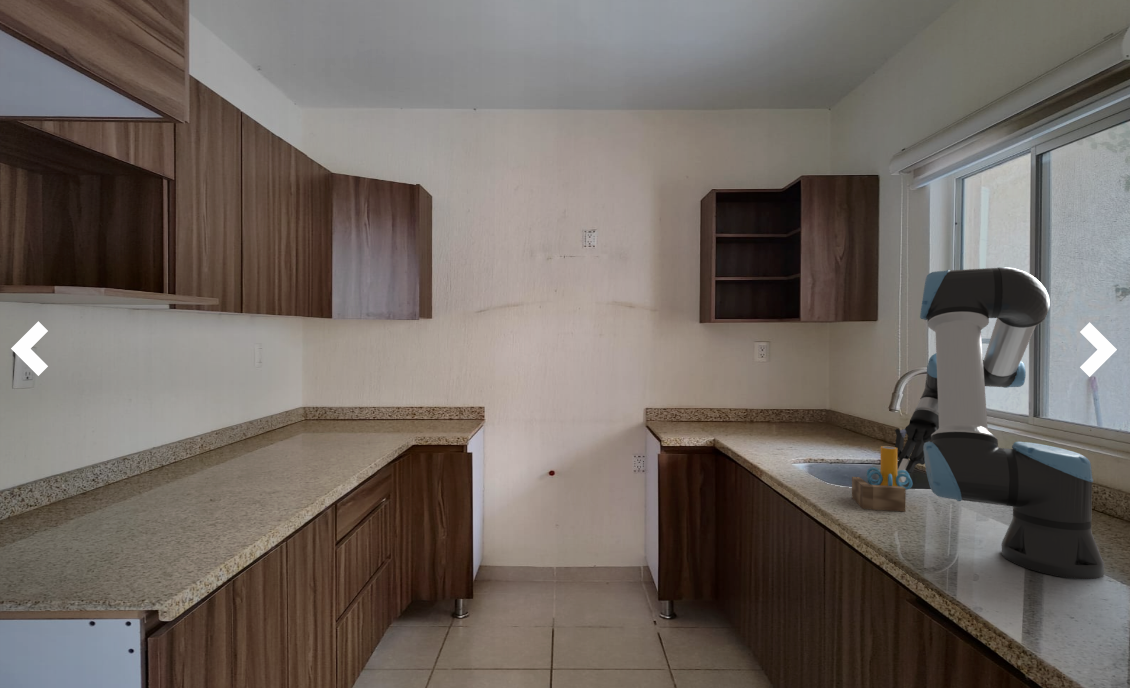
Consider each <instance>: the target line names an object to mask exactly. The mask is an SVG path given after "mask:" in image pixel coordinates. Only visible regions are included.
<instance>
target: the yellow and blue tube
mask: <svg viewBox="0 0 1130 688" xmlns="http://www.w3.org/2000/svg"><path fill="white" fill-rule="evenodd" d="M898 461H899V460H898V448H896V447H895V446H889V445H883V446H882V445H881V446H880V469H879V468H877V467H874V466H872V467H870V468H868V469H867V471H866V476H867V483H868V484H870V485H884V486H902V487H904V488H905V489H906V491H907V490H910V489H911V488H912V487H913V480H912V478H911V476H910V473H908V472H907V471H905V470H900V471H898ZM900 473H905V474H900ZM873 475H878V478H877V479H873V477H872V476H873ZM900 477H906V480H905V482H899V478H900ZM906 485H907V486H906Z"/></svg>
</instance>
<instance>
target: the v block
mask: <svg viewBox="0 0 1130 688" xmlns="http://www.w3.org/2000/svg"><path fill="white" fill-rule="evenodd" d="M902 486H903V485H902ZM902 486H884V485H870V484H869V483H868V482H866V481H865V480H864V479H863V478H862V477H860V476H851V499H853V501H855V503H856V504H857V505H859V506H860V508H862V510H875V511H889V512H891V511H892V512H893V511H894V512H904V513H905V512H906V503H907V502H906V496H907V494H906V492H907V490H906V489H905V488H904V487H905V486H904V487H902Z"/></svg>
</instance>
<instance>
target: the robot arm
mask: <svg viewBox="0 0 1130 688" xmlns="http://www.w3.org/2000/svg"><path fill="white" fill-rule="evenodd" d="M924 281H925V282H924V288H923V293H922V300H921V307H920V315H919V318H920V319H921V320H924V321H927V327H928V328H929V329H930V330H932V331H933V332H935V353H933V354H932V355H931V356H930V358H929V360H928V363H927V366H926V376H925V377H926V378H925V383H924V385H925V386H924V390H923V393H922V394H921V397H920V399H919V400H918V403H917V404H916V407H915V409H914V411H913V413H912V415H911V416H910V419H909V424H908V425H906V426H905V427H904V428H903V429H899V428H896V429H895V430H894V432H895V434H896V439H895V442H894V443H895V444H894V447H896V448H898V471H900V470H905V471H907V472H908V473H909V474H912V473H913V471H914V470H915V467H916V465H918V464H919V465H922V466H923V465H925V471H926V477H927V480H928V484H929V488H930V490H931V492H932V493H933V494H934V495H936V496H937V497H939V498H943V499H951V500H955V501H957V502H961V501H965V502H966V501H967V502H974V503H981V504H982V503H983V504H989V505H997V506H1003V507H1004V506H1005V507H1006V506H1008V507H1012V519H1011V521H1010V523H1009V525H1008V528H1007V530H1006V531H1005V532H1006V533H1005V534H1004V536H1003V538H1002V541H1001V555H1002V556H1003V558H1005V559H1006V560H1008V561H1009V562H1011V563H1013V564H1015V565H1018V566H1020V567H1023V568H1025V569H1028V570H1032V571H1034V572H1037V573H1042V574H1046V575H1051V576H1055V577H1060V578H1066V579H1067V578H1068V579H1075V580H1096V579H1100V578H1103V577H1104V576H1105V563H1104V560H1103V558H1102V554H1101V553H1100V550H1099V547H1098V544H1097V543H1096V542H1097V541H1096V540H1095V537H1094V535H1093V531H1092V513H1093V512H1092V505H1093V503H1092V501H1093V500H1092V499H1093V496H1092V495H1093V491H1092V490H1093V482H1094V479H1093V474H1092V473H1093V472H1092V471H1093V470H1092V464H1091V463H1092V462H1091V461H1090V459H1089V458H1088V457H1087V456H1085V455H1082V453H1079V452H1075V451H1072V450H1068V449H1066V448H1061V447H1058V446H1051V445H1046V444H1041V443H1035V442H1029V441H1025V442H1024V441H1015V442H1014V443H1012V445H1011V448H1005V447H999V441H998V440H999V439H998V437H997V436H995V435H994V434H993V433H991V432H990V431H989V430H988V428H989V427H988V413H987V401H986V397H987V396H986V387H990V388H991V387H992V388H993V387H994V388H995V387H996V388H1007V389H1008V388H1020V387H1023V386H1024V384H1025V381H1026V366H1025V363H1024V362H1023V361H1022V359H1023V357H1024V355H1025V353H1026V350H1027V348H1028V345H1029V342H1030V340H1031V338H1032V335H1033V334H1034V330H1035V329H1036V326H1038V325H1040V324H1041V323H1042V322H1044V320H1045V319H1046V317H1047V315H1048V313H1049V310H1050V306H1051V305H1050V304H1051V301H1050V296H1049V293H1048V291H1047V289H1046V287H1045V286H1044V285H1043V284H1042V282H1041V281H1039V280H1038V279H1037V277H1034V275H1032V274H1031V273H1028V272H1026V271H1024V270H1021V269H1018V268H1014V267H1008V266H1007V267H1005V266H1004V267H990V268H989V267H987V268H969V269H967V268H966V269H952V270H951V269H946V270H939V271H931V272H929V273H928V274H927V275H926V277H925V280H924ZM990 319H996V321H995V322H994V326H993V330H992V333H991V336H990V339H989V343H988V345H987V346H988V347H987V349H986V351H985V355H984V354H983V343H982V341H983V340H982V330H983V329H984V328H986V327H988V325H989V323H990ZM983 355H984V356H983ZM906 435H907V440H906V442H905V440H904V439H905V438H906ZM904 442H905V445H904ZM900 474H905V473H900ZM905 480H906V477H900V478H899V482H905Z"/></svg>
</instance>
